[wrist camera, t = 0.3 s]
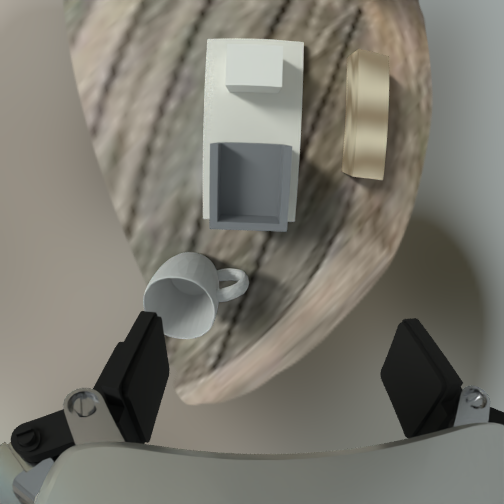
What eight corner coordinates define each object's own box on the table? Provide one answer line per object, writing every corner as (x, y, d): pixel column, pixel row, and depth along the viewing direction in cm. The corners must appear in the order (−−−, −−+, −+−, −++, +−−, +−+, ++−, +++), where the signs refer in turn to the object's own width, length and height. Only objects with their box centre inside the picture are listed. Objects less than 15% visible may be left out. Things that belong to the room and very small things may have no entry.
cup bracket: (208, 41, 30) (196, 16, 22) (302, 44, 31) (315, 20, 22) (204, 216, 39) (191, 239, 31) (293, 219, 40) (304, 243, 31)
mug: (173, 302, 45) (155, 342, 35) (156, 248, 41) (131, 280, 32) (254, 291, 44) (254, 332, 34) (243, 234, 40) (240, 265, 31)
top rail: (346, 58, 31) (358, 48, 27) (373, 63, 31) (388, 56, 27) (341, 171, 37) (353, 176, 33) (368, 174, 37) (383, 180, 33)
